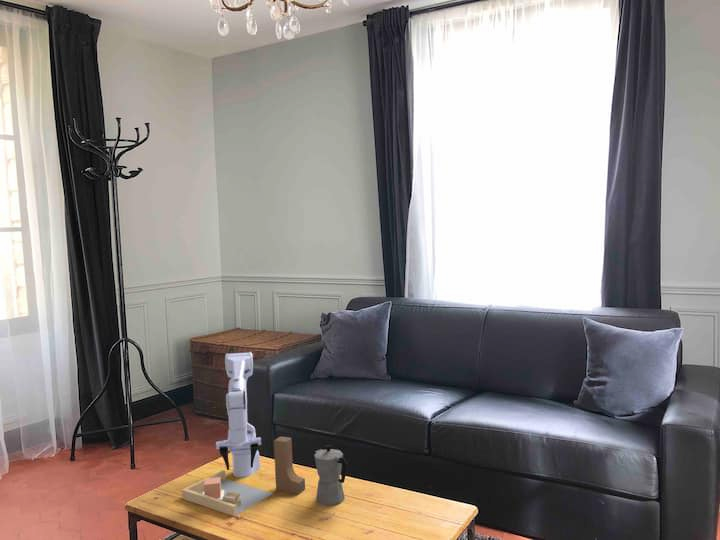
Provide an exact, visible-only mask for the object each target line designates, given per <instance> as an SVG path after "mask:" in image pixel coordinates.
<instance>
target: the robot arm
mask: <svg viewBox="0 0 720 540" xmlns="http://www.w3.org/2000/svg"><path fill="white" fill-rule="evenodd" d="M253 355H254V354H253V353H252V352H251V351H249V352H238V353H237V352H236V353H225V356H224V364H225V366H224V367H225V371H226V375H227V377H228V378H230V379H229V382H228V393H226V395H225V403H226V404H225V406H226V409H227V410H226V411H227V416H228V430H227V439H224V440H220V441H219V440H218V441H216V442H215V449H216V450H219V454H220V455H221V457H222V459H223V461H224V464H225V466H226V467H225V468H226V471H230V461H229V452H231V454H232V455H231V456H232V470H233V471H232V472H233V476H234V477H236V478H247V477H250V476H252V475H253V474H255V473H256V472H258V471H260V470H261V462H260V452H259V446H261V445H262V438H261V437H257V436H256V435H257V433H256V428H255V426H253V425H252V424H250V423H249V422H248V396H247V395H248V393H247V382H248V378H250V377H252V375H253V373H254V358H253Z"/></svg>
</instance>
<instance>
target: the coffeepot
mask: <svg viewBox="0 0 720 540" xmlns="http://www.w3.org/2000/svg"><path fill="white" fill-rule="evenodd" d="M331 447H332V445H330V444H328V445H325V448H326V449H317V450H314V452H315V454H313V456H314V461H315V467H316V472H317V473H316V474H317V475H318V478H319V479H318V483H317V490H316V496H315V497H316V501H317V502H318V504H320V505H322V506H326V507H327V506H328V507H330V506H336V505H339V504H341V503H343V501H344V499H345V494H344V488H343V484H344V483H345V480H346V475H347V471H348V468H349V467H348V462H347V460H346V458H345V457H344V453H343V452H342V451H341V450H339V449H334V448H333V449H332V448H331Z"/></svg>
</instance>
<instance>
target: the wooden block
mask: <svg viewBox="0 0 720 540" xmlns="http://www.w3.org/2000/svg"><path fill="white" fill-rule="evenodd" d="M292 445H293V443H292V437H289V436H278V437H277V438H276V439H274V440H273V448H274V449H273V451H274V472H275V473H274V474H275V476H274V477H275V491H276V492H282V493H286V494H287V493H288V494H294V495H300V494H301V493H303V492H304V491H305V490H306V479H305V477H302V476H299V475H298V474H297V473H296V472H295V469H294V467H293V446H292Z"/></svg>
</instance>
